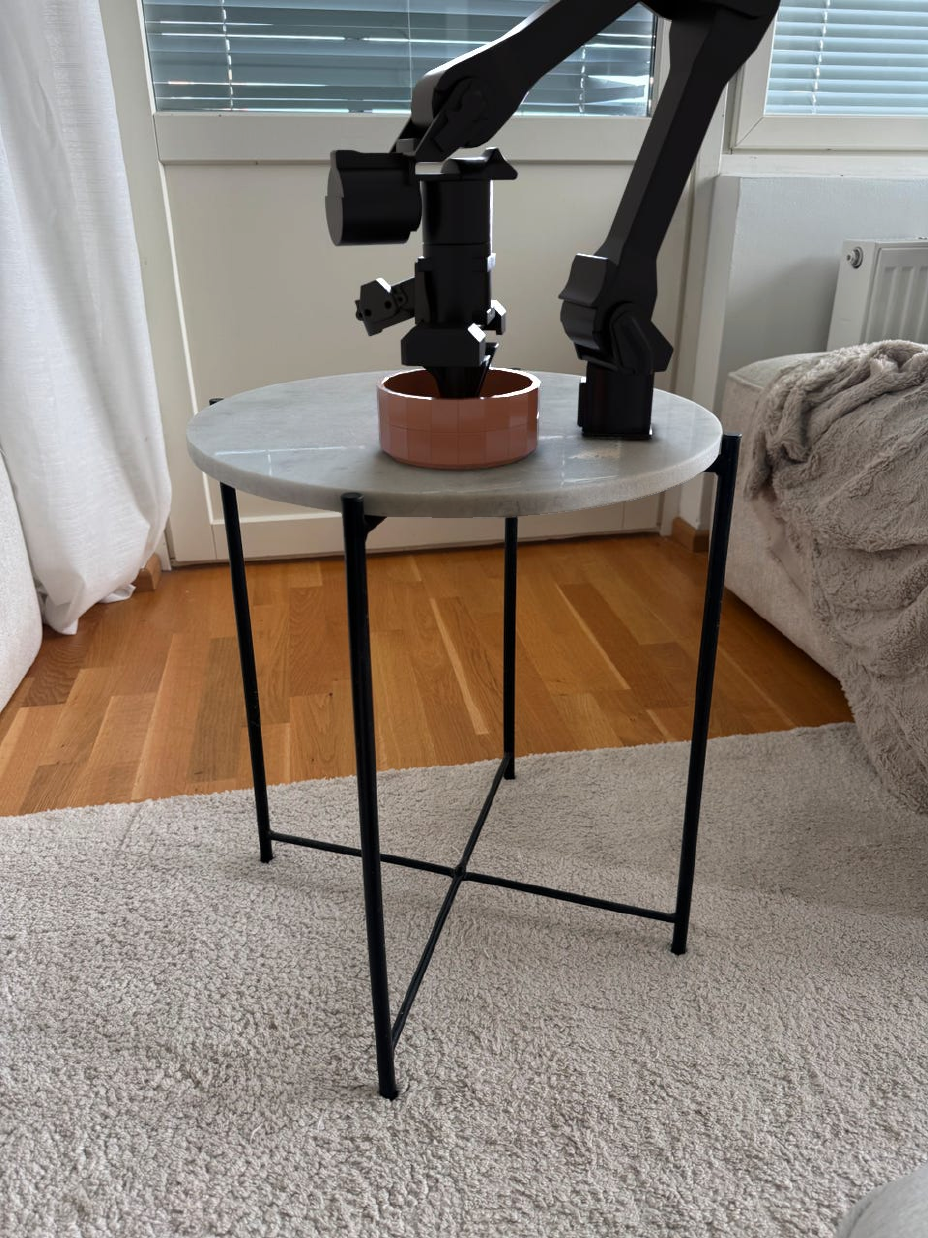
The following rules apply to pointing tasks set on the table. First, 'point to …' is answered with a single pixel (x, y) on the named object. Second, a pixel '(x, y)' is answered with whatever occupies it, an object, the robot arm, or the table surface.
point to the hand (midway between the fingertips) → (459, 430)
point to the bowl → (458, 420)
